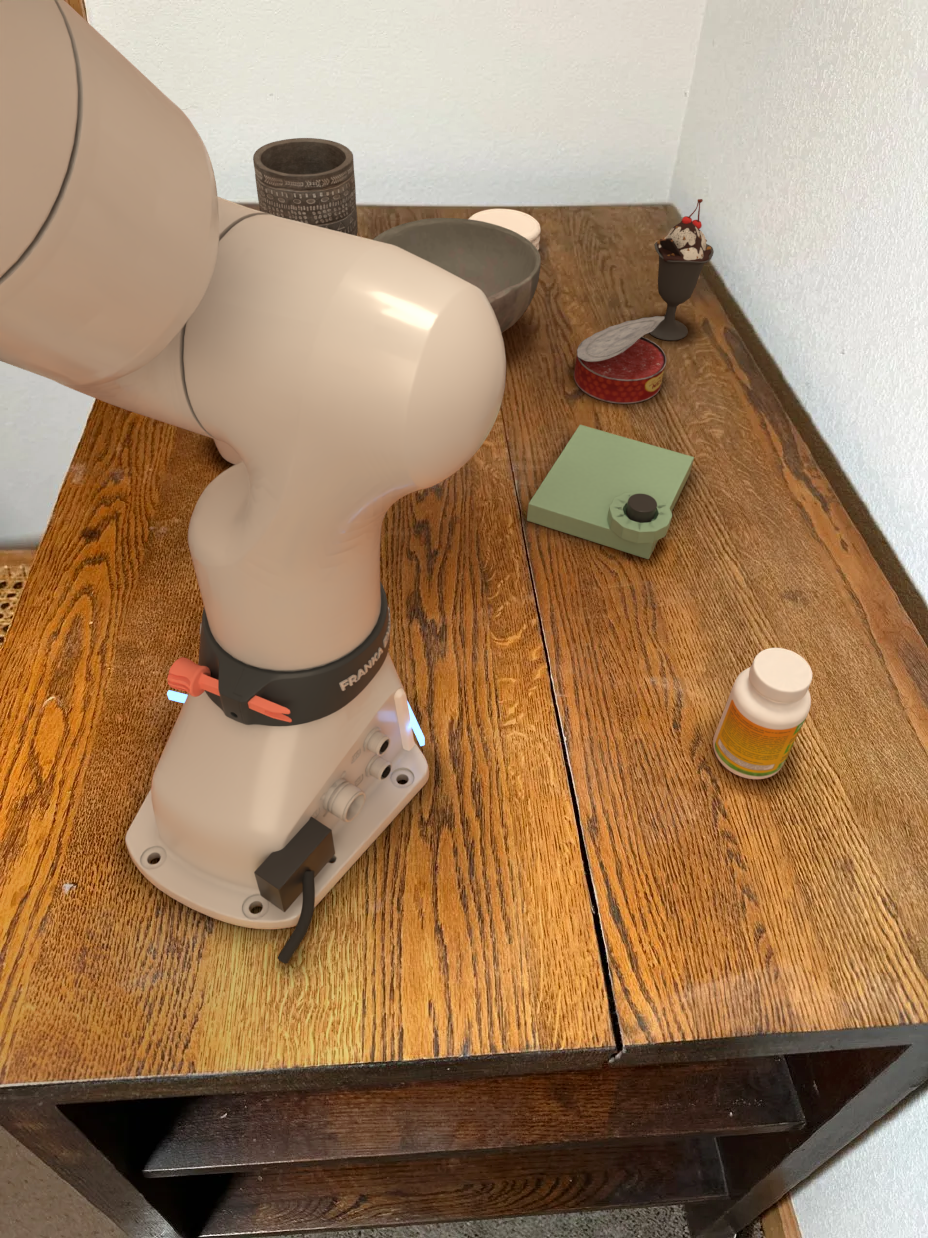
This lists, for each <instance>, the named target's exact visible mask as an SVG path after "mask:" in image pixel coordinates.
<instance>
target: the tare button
mask: <svg viewBox="0 0 928 1238" xmlns="http://www.w3.org/2000/svg"><path fill="white" fill-rule="evenodd" d="M656 508H657V502H656V500H655V499H654V498H653V497H651V496H649V495H647V494H634V495H632V496H631V497H630V498H629V499H628V503H627V508H626V515H627V517H628V518H629V519H630V520H632V521H635V522H639V523H647V522H650V521H652V520H653V519H654V517H655V512H656Z"/></svg>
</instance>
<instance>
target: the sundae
mask: <svg viewBox="0 0 928 1238" xmlns="http://www.w3.org/2000/svg"><path fill="white" fill-rule="evenodd" d="M703 201H704V200H703V198H698V199H697V203H696V207H695V209H694V210H693V211H692V212H691V214H690V215H688V216H687V215H685V216H683V217H682V219H681V221H680V222H678V223H677V224H675V225H674V226H672V228H671V229H670V230H669V232H668V234H667V235H666V236H664V237H662V238H660V239H659V240H658V241H656V242H655V243H654V250H655V252H656V254H658V269H657V270H658V272H657V273H658V274H657V292H658V294H659V296H660V298H661V299H662V300H663V302H665V303H666V310H665V313H664V317H665V319H664V320H663V321H661V322H660V323H659V325H658V326H657V327H656V328H655V329H654V330H653V331H652V332H649V333H648V334H650V335H651V336H652V337H654V338H656V339H659V340H662V341H668V342H669V341H670V342H671V341H673V342H674V341H680V340H682V339H684V338H685V337H687V335H688V333H689V330H688V327H687V326H686V324H684V323H682V322H681V321H679V320H676V312H677V308H678V306H679V305H682V304H684V303H685V302H687V301H688V300H689V299H691V297H692V295H693V293H694V291H695V288H696V287H697V283H698V281H699V278H700V275H701V273H702V269H703V267H704V265H705V264H707V263H709V262H710V261H711V260H712V258H713V256H714V252H715V250H714V248H713V246H712V245H710V244H708V243H707V242H708V240H707V239H706V235H705V234H704V233H703V230H701V228H702V226H703V224H702V221H700V214H701V203H703ZM697 209H698V211H697ZM696 211H697V219H694V220H693V219H692V218H691V217H692V216H693V215H694V214H695V212H696Z"/></svg>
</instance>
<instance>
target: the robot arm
mask: <svg viewBox="0 0 928 1238" xmlns="http://www.w3.org/2000/svg"><path fill="white" fill-rule="evenodd" d="M216 181H217V180H216V176H215V172H214V168H213V164H212V159H211V157H210V154H209V152H208V149H207V146H206V145H205V143H204V141H203V139H202V137H201V135H200V133H199V132H198V130H197V129H196V128H195V126H194V124H193V123H192V121H191V120H190V118H189V117H188V115H186V113H185V112H184V111H183V110H182V109H181V108H180V107H179V106H178V105H177V104H176V103H175V102H174V101H172V99H170V98H169V97H168V96H167V95H166V94H165V93H164V92H163V91H161V89H159V88H158V86H156V85H155V84H154V83H153V82H152V81H151V80H150V79H149V78H148V77H146V75H145V74H144V73H142V71H141V70H139V69H138V68H137V67H136V66H135V65H134V64H133V63H132V62H131V61H129V59H128V58H127V57H125V55H123V54H122V53H121V52H120V51H119V50H118V49H117V48H116V47H115V46H114V45H113V44H112V43H110V42H109V40H108V39H107V38H105V37H104V36H103V35H102V34H101V33H100V32H99V31H97V29H96V28H94V27H93V25H91V24H90V23H89V22H88V21H87V20H86V19H85V18H84V17H83V16H82V15H81V14H79V13H78V12H77V11H76V10H75V8H73V7H72V6H71V5H70V4H69V3H68V2H66V0H0V362H2V363H4V364H7V365H9V366H10V365H11V366H13V367H16V368H18V369H21V370H24V371H27V372H30V373H32V374H35V375H38V376H40V377H44V378H46V379H49V380H51V381H53V382H56V383H58V384H59V385H61V386H64V387H66V388H68V389H71V390H73V391H76V392H78V393H81V394H83V395H87V396H89V397H91V398H94V399H96V400H99V401H101V402H103V403H106V404H109V405H112V406H113V407H114V406H115V407H117V408H120V409H122V410H125V411H128V412H132V413H134V414H137V415H141V416H143V417H147V418H149V419H153V420H156V421H159V422H162V423H164V424H168V425H171V426H174V427H177V428H179V429H183V430H186V431H189V432H192V433H195V434H198V435H201V436H204V437H207V438H210V439H212V440H213V439H216V440H219V441H222V442H224V443H226V444H228V445H229V446H231V447H232V448H233V449H234V450H235V451H236V453H237V454H238V455H239V456H240V458H241V459H242V461H241V462H239V463H237V464H233V465H231V466H230V467H229V468H226V469H225V470H223V471H222V472H221V473H219V474H218V475H217V476H216V477H215V478H213V479H212V480H211V481H210V482H209V483H208V485H207V486H206V487H205V488H204V490H203V491H202V492H201V494H200V496H199V498H198V500H197V501H196V504H195V505H194V509H193V511H192V514H191V516H190V520H189V524H188V529H187V544H188V548H189V553H190V557H191V560H192V564H193V565H192V566H193V568H194V572H195V576H196V580H197V584H198V588H199V592H200V596H201V599H202V604H203V609H202V615H201V622H200V624H199V648H198V649H199V650H198V661H197V663H196V662H194V661H193V660H192V659H190V658H187V657H183V656H181V657H179V658H177V659H176V660H175V661H174V662H173V663H172V665H171V666H170V668H169V670H168V675H167V679H166V680H167V685H168V686H169V687H170V688H172V689H175V690H178V691H183V692H186V693H182V692H178V691H174V690H170V689H169V690H168V691H167V693H166V695H167V698H168V700H169V701H173V702H177V703H182V706H181V709H180V711H179V713H178V715H177V718H176V721H175V723H174V725H173V728H172V730H171V732H170V734H169V736H168V739H167V742H166V744H165V746H164V747H163V748H164V749H163V751H162V752H161V755H160V758H159V759H158V762H157V765H156V767H155V769H154V772H153V775H152V778H151V786H150V787H151V788H150V790H149V791H148V792H147V795H146V796H145V798H144V800H143V802H142V804H141V806H140V807H139V809H138V811H137V813H136V814H135V816H134V819H133V820H132V822H131V823H130V826H129V828H128V830H127V831H126V834H125V840H124V841H125V846H126V849H127V852H128V854H129V857H130V859H131V861H132V862H133V864H134V865H135V867H136V869H138V871H139V872H140V873H141V874H142V876H143V877H144V878H145V879H146V880H147V881H148V882H150V884H152V885H153V886H154V887H155V888H157V889H158V890H159V891H161V893H164V894H165V895H166V896H167V897H170V898H171V899H173V900H175V901H177V902H179V903H180V904H181V905H184V906H186V907H187V908H189V909H191V910H193V911H195V912H198V913H200V914H203V915H205V916H207V917H210V918H211V919H214V920H217V921H220V922H223V923H226V924H229V925H234V926H238V927H242V928H247V929H248V928H249V929H255V930H279V929H289V928H294V927H295V928H294V930H293V931H292V933H291V934H290V936H289V938H288V939H287V940H286V942H285V944H284V946H283V947H282V949H281V950H280V952H279V953H278V955H277V960H278V961H279V962H281V963H283V964H290V961H291V959H292V957H293V956H294V954H295V953H296V951H297V949H298V948H299V947H300V945H301V944H302V942H303V941H304V939H305V937H306V934H307V933H308V930H309V928H310V926H311V922H312V920H313V916H314V911H315V908H316V907H317V906H318V905H319V904H320V902H321V901H322V900H323V899H324V898H325V897H326V896H327V895H328V894H329V893H330V891H331V890H332V889H333V888H334V887H335V885H336V884H337V883H338V882H339V881H340V880H341V879H342V878H343V877H344V876H345V874H347V872H348V871H349V870H350V869H351V868H352V867H353V866H354V864H355V863H356V862H357V861H358V860H359V859H360V858H361V857H362V856H363V854H365V852H366V851H367V850H368V849H369V848H370V847H371V846H372V844H374V842H375V841H376V840H377V839H378V838H379V837H380V835H381V834H383V832H384V831H385V830H386V829H387V827H389V825H390V824H391V823H392V822H393V821H394V820H395V819H396V818H397V817H398V815H399V814H400V813H401V812H402V811H403V810H404V809H405V807H407V805H409V803H411V801H412V800H413V798H414V797H415V796H416V795H417V794H418V793H419V792H420V791H421V790H422V788H424V786H425V785H426V784H427V782H428V781H429V779H430V768H429V764H428V761H427V759H426V756H425V755H424V753H423V751H422V749H420V747H423V746H425V745H426V741H425V740H426V739H425V735H424V733H423V731H422V729H421V727H420V724H419V722H418V721H417V718H416V716H415V714H414V712H413V709H412V707H411V705H410V703H409V701H408V697H407V693H406V691H405V687H404V686H403V683H402V681H401V678H400V675H399V674H398V671H397V669H396V667H395V665H394V663H393V660H392V657H391V654H390V652H389V650H390V645H391V628H392V620H391V609H390V607H389V603H388V597H387V592H386V589H385V587H384V585H383V583H382V581H381V536H382V526H383V521H384V518H385V516H386V515H387V512H388V511H389V510H390V508H391V507H392V506H393V505H394V504H395V503H396V502H397V501H399V500H400V499H402V498H403V497H405V496H407V495H409V494H412V493H415V492H418V491H421V490H425V489H430V488H432V487H434V486H436V485H438V484H440V483H441V482H444V481H445V480H447V479H449V478H450V477H452V476H453V475H454V474H455V473H457V472H458V471H460V470H461V468H463V467H464V466H465V465H466V464H467V463H468V462H469V461H470V460H471V459H473V457H474V456H475V455H476V453H477V452H478V451H479V450H480V449H481V447H482V446H483V445H484V444H485V441H486V440H487V438H488V436H489V434H490V433H491V431H492V429H493V427H494V425H495V423H496V421H497V418H498V415H499V413H500V411H501V410H500V409H501V407H502V403H503V399H504V395H505V390H506V389H505V388H506V380H507V357H506V348H505V341H504V338H503V333H501V329H500V326H499V323H498V320H497V318H496V315H495V313H494V310H493V308H492V307H491V305H490V303H489V301H488V299H487V297H486V295H485V294H484V293H483V292H482V290H480V289H479V288H478V287H476V286H474V285H472V284H471V283H469V282H467V281H465V280H463V279H461V278H459V277H457V276H455V275H454V274H452V273H450V272H448V271H446V270H444V269H442V268H440V267H438V266H437V265H434V264H432V263H430V262H428V261H426V260H424V259H422V258H420V257H418V256H416V255H414V254H412V253H410V252H408V251H406V250H403V249H401V248H399V247H397V246H395V245H391V244H387V243H383V242H379V241H375V240H373V239H371V238H368V237H367V238H366V237H362V236H359V235H357V236H355V235H351V234H347V233H343V232H339V231H335V230H330V229H326V228H322V227H318V226H314V225H310V224H306V223H302V222H298V221H294V220H290V219H286V218H282V217H278V216H275V215H272V214H269V213H265V212H261V211H260V210H257V209H254V208H251V207H248V206H245V205H242V204H239V203H236V202H234V201H231V200H228V199H226V198H223V197H220V196H219V195H218V188H217V182H216ZM414 734H415V738H416V740H417V741H418V744H419V746H420V747H419V746H418V744H417V742H416V741H415V738H414ZM401 781H406V783H403V784H401V783H398V782H401ZM155 859H159V861H158V862H156V863H151V862H152V861H153V860H155ZM257 907H260V908H261V910H260V911H259V912H257V913H253V912H252V910H253V909H255V908H257Z"/></svg>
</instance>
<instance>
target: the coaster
mask: <svg viewBox="0 0 928 1238" xmlns="http://www.w3.org/2000/svg"><path fill="white" fill-rule="evenodd" d="M468 219H470V220H477V221H483V222H487V223H491V224H495V225H498V226H501V227H504V228H507V229H509V230H512V231H514V232H516V233H518V234H520V235H521V236H523V237H525V238H526V239H528V240H529V241H530V242H531V243H532V244H533V245H534V246H535V247H536V248H537V250H538V251H539V250H540V241H541V235H540V234H541V224H540V223H539V221H538V220H537V219H536V218H535V217H533V216H532V215H530V214H529V213H526V212H523V211H520V210H516V209H510V208H488V209H484V210H481V211H478V212H476V213H474V214H472V215H470V217H469V218H468Z"/></svg>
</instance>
